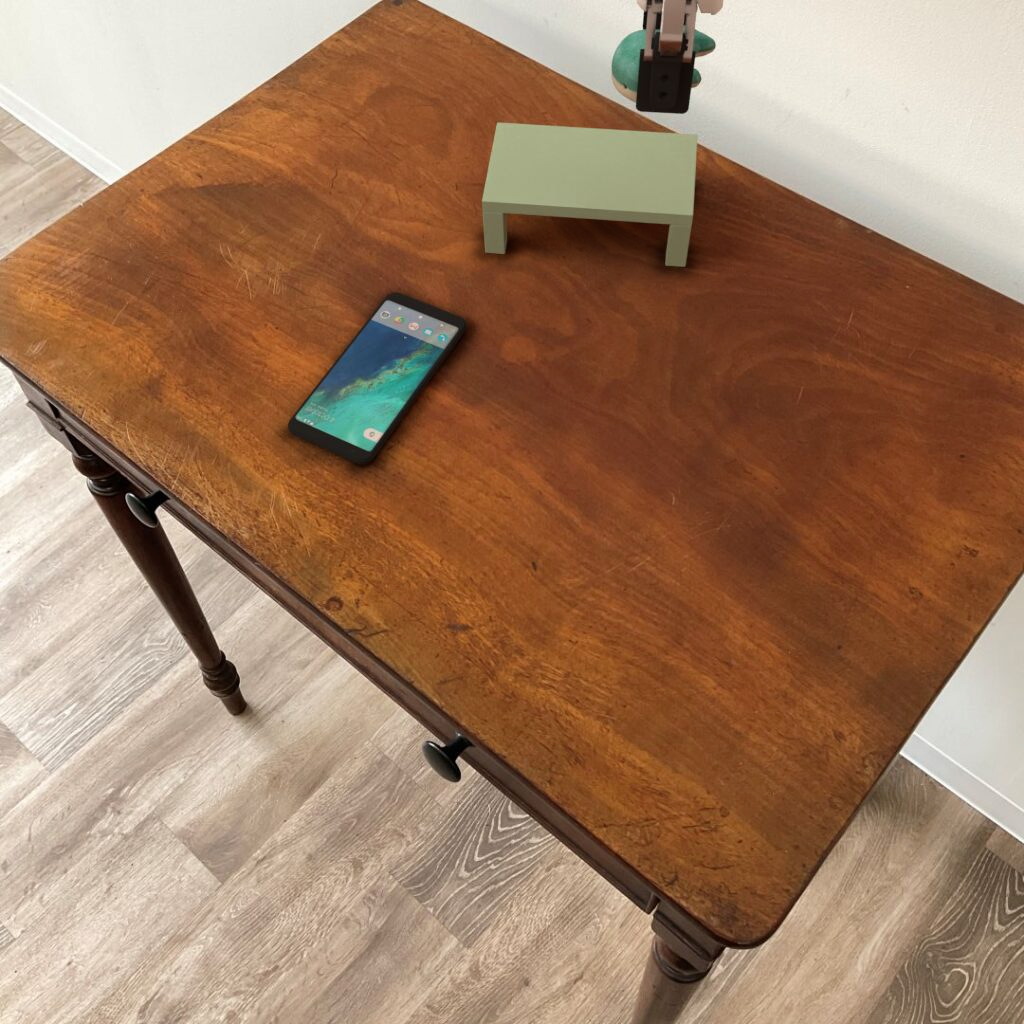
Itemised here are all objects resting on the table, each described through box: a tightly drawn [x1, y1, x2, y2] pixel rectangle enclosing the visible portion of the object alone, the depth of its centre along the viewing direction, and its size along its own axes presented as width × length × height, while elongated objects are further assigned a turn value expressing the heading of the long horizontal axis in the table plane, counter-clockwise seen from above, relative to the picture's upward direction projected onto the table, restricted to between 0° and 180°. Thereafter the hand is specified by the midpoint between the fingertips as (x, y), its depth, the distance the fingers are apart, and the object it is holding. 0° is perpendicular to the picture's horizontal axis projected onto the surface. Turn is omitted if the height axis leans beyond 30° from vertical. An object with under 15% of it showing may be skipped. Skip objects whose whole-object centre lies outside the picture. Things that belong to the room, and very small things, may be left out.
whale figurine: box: [611, 25, 717, 104], centre depth 69 cm, size 6×7×4 cm
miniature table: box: [481, 122, 699, 268], centre depth 88 cm, size 16×9×6 cm, turn 83°
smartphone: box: [287, 291, 468, 465], centre depth 82 cm, size 7×1×15 cm
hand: (664, 67), depth 70 cm, fingers closed on whale figurine, 7 cm apart
